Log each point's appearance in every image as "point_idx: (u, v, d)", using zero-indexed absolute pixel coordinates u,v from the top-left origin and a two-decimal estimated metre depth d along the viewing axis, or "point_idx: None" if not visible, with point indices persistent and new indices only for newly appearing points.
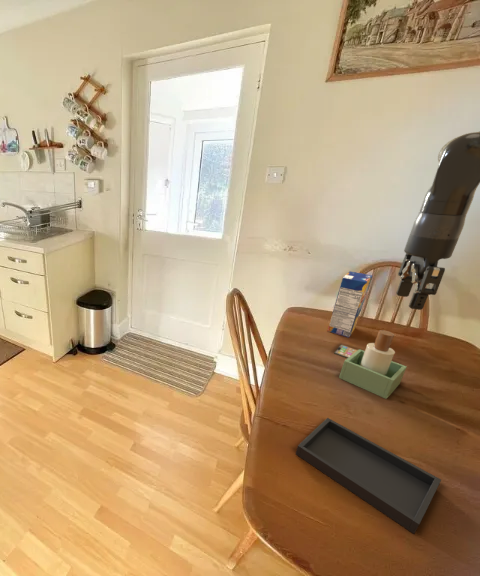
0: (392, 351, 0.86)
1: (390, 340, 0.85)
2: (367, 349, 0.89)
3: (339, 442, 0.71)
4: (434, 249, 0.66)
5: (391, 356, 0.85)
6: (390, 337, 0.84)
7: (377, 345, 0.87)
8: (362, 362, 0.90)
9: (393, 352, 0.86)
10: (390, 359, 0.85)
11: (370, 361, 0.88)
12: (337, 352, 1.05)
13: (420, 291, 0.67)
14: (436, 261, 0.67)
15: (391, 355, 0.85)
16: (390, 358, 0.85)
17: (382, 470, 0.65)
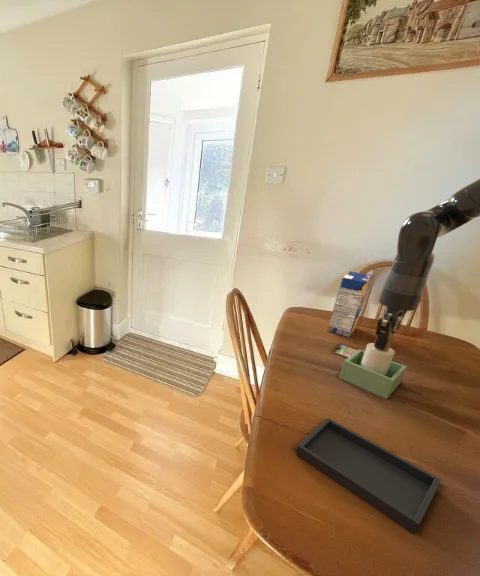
0: (392, 351, 0.86)
1: (390, 340, 0.85)
2: (367, 349, 0.89)
3: (339, 442, 0.71)
4: (392, 300, 0.80)
5: (391, 356, 0.85)
6: (390, 337, 0.84)
7: None
8: (362, 362, 0.90)
9: (393, 352, 0.86)
10: (390, 359, 0.85)
11: (370, 361, 0.88)
12: (337, 352, 1.05)
13: None
14: (394, 311, 0.81)
15: (391, 355, 0.85)
16: (390, 358, 0.85)
17: (382, 470, 0.65)
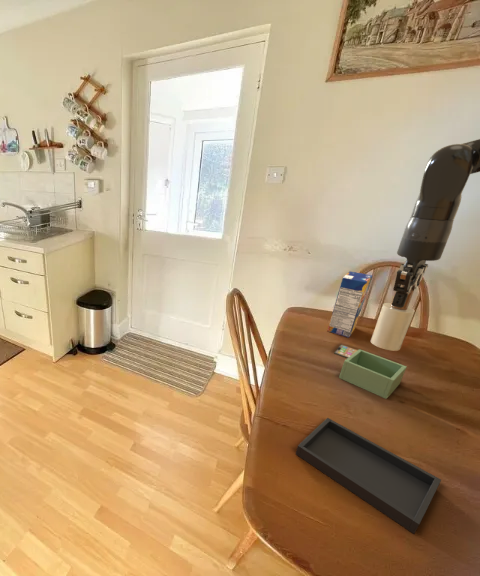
0: (412, 309, 0.78)
1: (409, 297, 0.77)
2: (383, 309, 0.81)
3: (339, 442, 0.71)
4: (413, 250, 0.72)
5: (411, 314, 0.77)
6: (409, 293, 0.76)
7: None
8: (377, 324, 0.82)
9: (413, 310, 0.78)
10: (409, 318, 0.77)
11: (386, 321, 0.80)
12: (337, 352, 1.05)
13: (393, 289, 0.76)
14: (415, 261, 0.73)
15: (411, 313, 0.77)
16: (409, 317, 0.77)
17: (382, 470, 0.65)
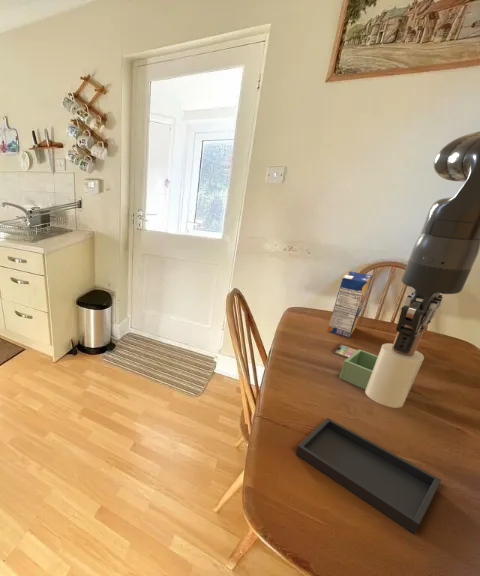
0: (420, 355, 0.58)
1: (417, 339, 0.57)
2: (382, 352, 0.61)
3: (339, 442, 0.71)
4: (424, 279, 0.53)
5: (419, 363, 0.57)
6: None
7: None
8: (374, 371, 0.63)
9: (421, 357, 0.58)
10: (417, 367, 0.58)
11: (386, 369, 0.60)
12: (337, 352, 1.05)
13: (396, 329, 0.57)
14: (427, 294, 0.53)
15: (419, 361, 0.57)
16: (417, 366, 0.58)
17: (382, 470, 0.65)
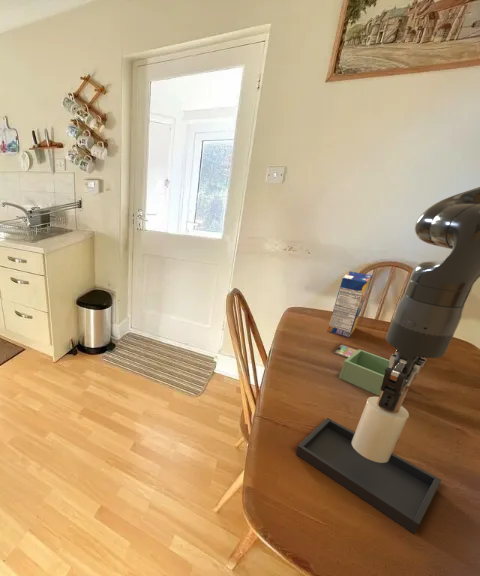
0: (405, 413, 0.58)
1: (402, 397, 0.57)
2: (368, 407, 0.60)
3: (339, 442, 0.71)
4: (407, 342, 0.52)
5: (403, 421, 0.57)
6: None
7: None
8: (360, 425, 0.62)
9: (406, 415, 0.58)
10: (402, 425, 0.57)
11: (371, 425, 0.60)
12: (337, 352, 1.05)
13: (381, 389, 0.56)
14: (410, 357, 0.52)
15: (403, 420, 0.57)
16: (402, 424, 0.57)
17: (382, 470, 0.65)
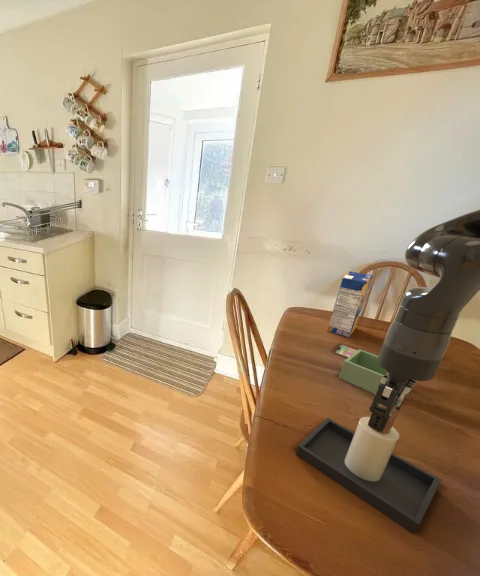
0: (395, 434, 0.60)
1: (392, 420, 0.59)
2: (360, 428, 0.62)
3: (339, 442, 0.71)
4: (397, 365, 0.54)
5: (394, 442, 0.59)
6: (392, 415, 0.58)
7: None
8: (353, 444, 0.64)
9: (397, 436, 0.59)
10: (392, 446, 0.59)
11: (363, 445, 0.62)
12: (337, 352, 1.05)
13: (370, 409, 0.56)
14: (400, 380, 0.54)
15: (394, 441, 0.59)
16: (392, 445, 0.59)
17: None
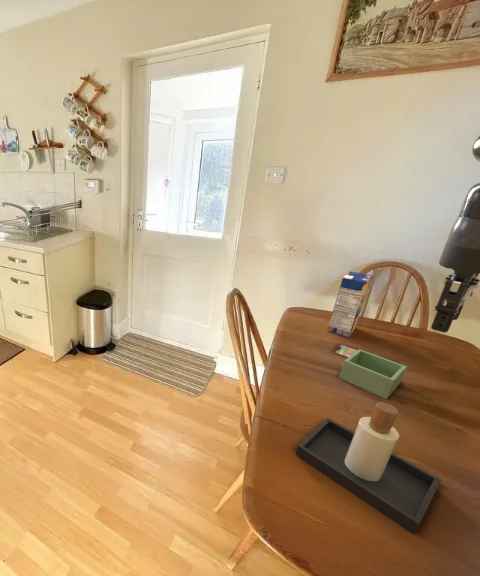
0: (395, 434, 0.60)
1: (392, 420, 0.59)
2: (360, 428, 0.62)
3: (339, 442, 0.71)
4: (464, 260, 0.55)
5: (394, 442, 0.59)
6: (392, 415, 0.58)
7: (374, 424, 0.61)
8: (353, 444, 0.64)
9: (397, 436, 0.59)
10: (392, 446, 0.59)
11: (363, 445, 0.62)
12: (337, 352, 1.05)
13: None
14: (467, 275, 0.55)
15: (394, 441, 0.59)
16: (392, 445, 0.59)
17: None
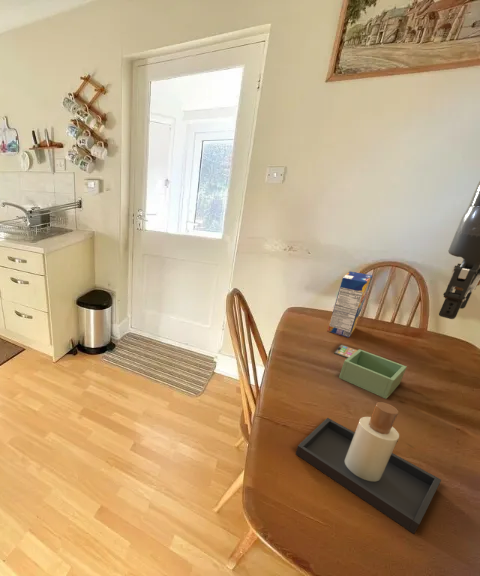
0: (395, 434, 0.60)
1: (392, 420, 0.59)
2: (360, 428, 0.62)
3: (339, 442, 0.71)
4: (473, 248, 0.56)
5: (394, 442, 0.59)
6: (392, 415, 0.58)
7: (374, 424, 0.61)
8: (353, 444, 0.64)
9: (397, 436, 0.59)
10: (392, 446, 0.59)
11: (363, 445, 0.62)
12: (337, 352, 1.05)
13: (444, 295, 0.59)
14: (476, 263, 0.57)
15: (394, 441, 0.59)
16: (392, 445, 0.59)
17: None
